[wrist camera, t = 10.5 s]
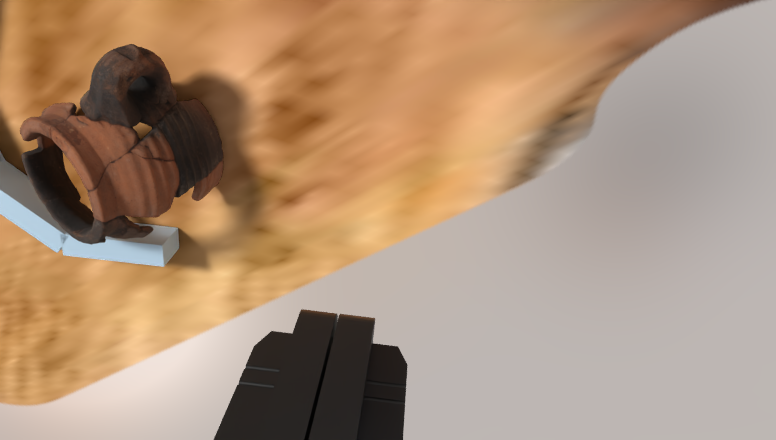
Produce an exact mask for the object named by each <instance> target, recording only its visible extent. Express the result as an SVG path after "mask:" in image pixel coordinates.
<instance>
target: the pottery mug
mask: <svg viewBox="0 0 776 440" xmlns="http://www.w3.org/2000/svg"><path fill="white" fill-rule="evenodd" d="M80 106H81V109H82V111H83V112H84V113H85V115H84V116H76V113H75V112H76V109H77V107H76V105H75V104H74V103H60V104H53V105H51V106H49V107H48V108H46V109H44V111H43V112H42V116H40V117H31V118H28V119H27V120H25V121H24V122H23V124H22V126H21V128H20V134H21V135H22V138H23V140H25V141H31V140H34V139H37V142H38V148H37V149H34V150H32V151H27V152H25V153H23V154H22V161H23V164H24V167H25V170H26V173H27V175H28V178H29V180H30V182H31V184H32V186H33V188H34V190H35V192H36V194H37V195H38V197H39V199H40V200H41V201H42V203H43V204H44V205H45V207H46V209H47V210H48V212H49V213H50V214H51V216H52V218H53V219H54V220H55V221H56V222H57V223H58V224H59V225H60V226H61V228H62V229H63V230H65V231H66V232H67V233H68V234H69V235H70V236H71V237H73V238H74V239H76V240H78V241H79V242H82V243H86V244H91V245H92V244H97V243H105V242H106V239H105V237H106V236H107V237H112V238H116V239H129V238H143V237H145V236H147V235H148V234H150V233H151V232H152V231H153V227H151V226H139V225H138V224H135V223H133V222H131V221H130V220H129V219H128V218H127V217H125V216H124V215H126V216H131V217H158V216H160V215H161V214H163V213H164V212H166V211H167V210H169V209H170V207H171V205H172V202H173V199H174V197H180V196H181V195H183V194H184V193H186V192H187V191H188V190H189V189H190V188H192V187H193V186H194V191H193V194H192V199H194V200H196V201H199V200H201V199H202V198H203V197H205V196H206V195H207V194H208V193H209V192H210V191H211V189H212V188H213V187H215V186H216V185H217V184H218V183H219V181H220V179H221V177H222V172H223V151H222V146H221V139H220V137H219V134H218V131H217V128H216V126H215V123H214V121H213V119H212V118H211V116H210V115H209V114H208V112H207V110H206V109H205V107H204V106H203V105H202V104H201V103H200V101H199V100H197V99H192V100H189V101H185V100H184V101H177V94H176V91H175V89H174V88H173V87H172V83H171V78H170V75H169V72H168V70H167V68H166V67H165V64H164V62H163V61H162V60H161V58H160V57H158V56H157V55H155V54H154V53H153V52H152V51H150V50H147V49H144V48H142V47H137V46H136V45H134V44H129V45H126V46H123V47H118V48H116V49H113V50H112V51H109V52H108V53H106V54H105V55H104V56H103V57H102V58H101V59H100V60H99V61H98V63H97V64H96V66H95V68H94V70H93V73H92V79H91V85H90V90H89V91H87V92H86V93H85V94H84V96H83V97H82V98H81V101H80ZM139 122H141V123H144V124H147V125H149V126H151V127H152V130H151V131H150V132H149V133H148V134H147V135H146V136H145V137H144V138H142V139H141V140H140V138H139V137H138V134H137V132H136V131H135V130H134V129H133V126H136V125H137V124H138V123H139ZM63 153H64V154H65V155H66V157H67V158H68V159H69V161H70V162H71V163H72V165H73V166H74V168H75V170H76V171H77V173H78V175H79V176H80V178H81V180H82V182H83V184H84V186H85V188H86V189H87V190H88V196H89V199H90V202H91V206H92V211H93V212H92V211H91V210H90V209H89V208H88V207H87V206H85V205H84V204H82V203H81V202H80V201H79V200H80V198H81V197H80V195H79V193H78V191H77V189H76V188H75V186H74V185H73V183H72V182H71V180H70V179H69V176H68V174H67V173H66V171H65V166H64V162H63Z"/></svg>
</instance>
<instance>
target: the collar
mask: <svg viewBox="0 0 776 440" xmlns="http://www.w3.org/2000/svg"><path fill="white" fill-rule="evenodd" d="M0 214H1V215H3V216H4V217H6V218H7V219H9V220H10V221H12V222H13V223H14V224H16V225H17V226H19V227H20V228H22V229H23V230H25V231H26V232H28V233H29V234H30V235H32V236H33V237H35V238H36V239H38V240H39V241H41V242H42V243H44V244H45V245H46V246H48V247H49V248H51V249H52V250H54V251H55V252H57V253H58V252H59V251H60V250H61V249H62V250H63V255H66V256H75V257H83V258H92V259H101V260H110V261H119V262H127V263H136V264H145V265H154V266H163V267H164V266H165V265H166V264H167V262H168V261H169V260H170V259H171V258H172V256H173V255H174V254H175V253H176V252H177V250H178V249H179V235H178V228H176V227H167V226H158V225H149V224H140V223H135V224H138V225H139V226H151V227H153V231H152V232H151V233H150V234H148V235H147V236H145V237H143V238H129V239H116V238H112V237H107V236H106V237H105V239H106V242H105V243H97V244H92V245H91V244H86V243H82V242H79V241H78V240H76V239H74V238H73V237H71V236H70V235H69V234H68V233H67V232H66V231H65V230H63V229H62V228H61V226H60V225H59V224H58V223H57V222H56V221H55V220H54V219H53V218H52V216H51V214H50V213H49V212H48V210H47V209H46V207H45V205H44V204H43V203H42V201H41V200H40V199H39V197H38V195H37V194H36V192H35V190H34V188H33V186H32V184H31V182H30V180H29V178H28V176H27V175H25V174H24V173H23V172H21V171H20V170H18V169H17V168H16V167H14V166H13V165H11V164H10V163H9V162H7V161H6V160H5V159H4V157H3V155H2V153H1V151H0Z"/></svg>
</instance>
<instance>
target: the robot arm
mask: <svg viewBox="0 0 776 440" xmlns="http://www.w3.org/2000/svg"><path fill="white" fill-rule="evenodd" d="M337 317H338V316H337V314H334V313H327V312H318V311H311V310H301V312H300V314H299V317H298V319H297V322H296V325H295V328H294V331H293V334H291V333H282V332H274V331H271V332H270V333H269V334H268V335H267V336H265V337H264V338H263V339H262V340H261V341H260V342H258V343H257V344H256V345H255V346H254V348H253V350H252V352H251V355H250V357H249V359H248V362H247V364H246V368H245V369H244V371H243V373H242V376H241V378H240V381H239V385H237V387H236V390H235V392H234V394H233V396H232V399H231V401H230V403H229V406H228V408H227V410H226V412H225V415H224V417H223V419H222V422H221V424H220V426H219V429H218V431H217V433H216V436H215V438H214V440H403V427H404V412H405V395H406V378H407V363H406V361H405V359H404V358H403V356H402V354H401V352H400V350H399V348H398V347H397V346H389V345H381V344H373V335H374V325H375V318H369V317H361V316H352V315H344V314H340V315H339V318H337ZM337 319H338V322H337Z"/></svg>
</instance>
